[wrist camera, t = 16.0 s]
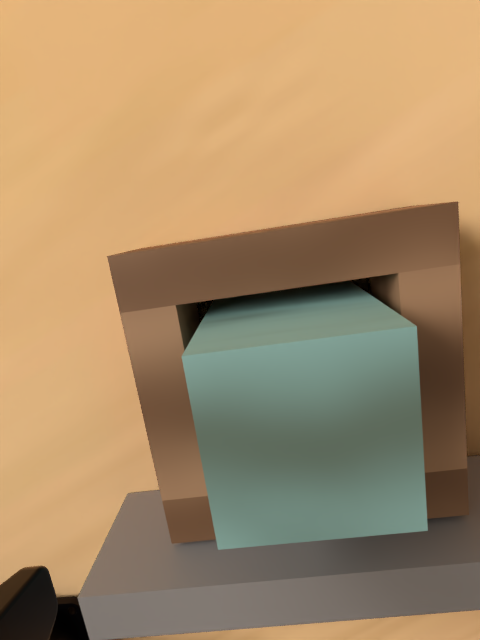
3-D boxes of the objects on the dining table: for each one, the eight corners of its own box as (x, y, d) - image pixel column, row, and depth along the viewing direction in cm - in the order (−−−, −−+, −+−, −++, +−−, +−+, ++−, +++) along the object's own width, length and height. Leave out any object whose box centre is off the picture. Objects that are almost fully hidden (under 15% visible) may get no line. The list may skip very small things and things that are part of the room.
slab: (497, 490, 20) (594, 601, 14) (135, 527, 22) (90, 641, 16) (496, 453, 20) (596, 551, 14) (127, 493, 21) (77, 597, 15)
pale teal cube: (360, 407, 20) (427, 530, 12) (234, 421, 20) (217, 550, 12) (349, 280, 18) (417, 326, 10) (214, 299, 19) (181, 356, 11)
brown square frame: (427, 456, 20) (469, 514, 16) (188, 483, 21) (171, 543, 17) (413, 205, 17) (457, 201, 13) (140, 248, 18) (107, 256, 14)
